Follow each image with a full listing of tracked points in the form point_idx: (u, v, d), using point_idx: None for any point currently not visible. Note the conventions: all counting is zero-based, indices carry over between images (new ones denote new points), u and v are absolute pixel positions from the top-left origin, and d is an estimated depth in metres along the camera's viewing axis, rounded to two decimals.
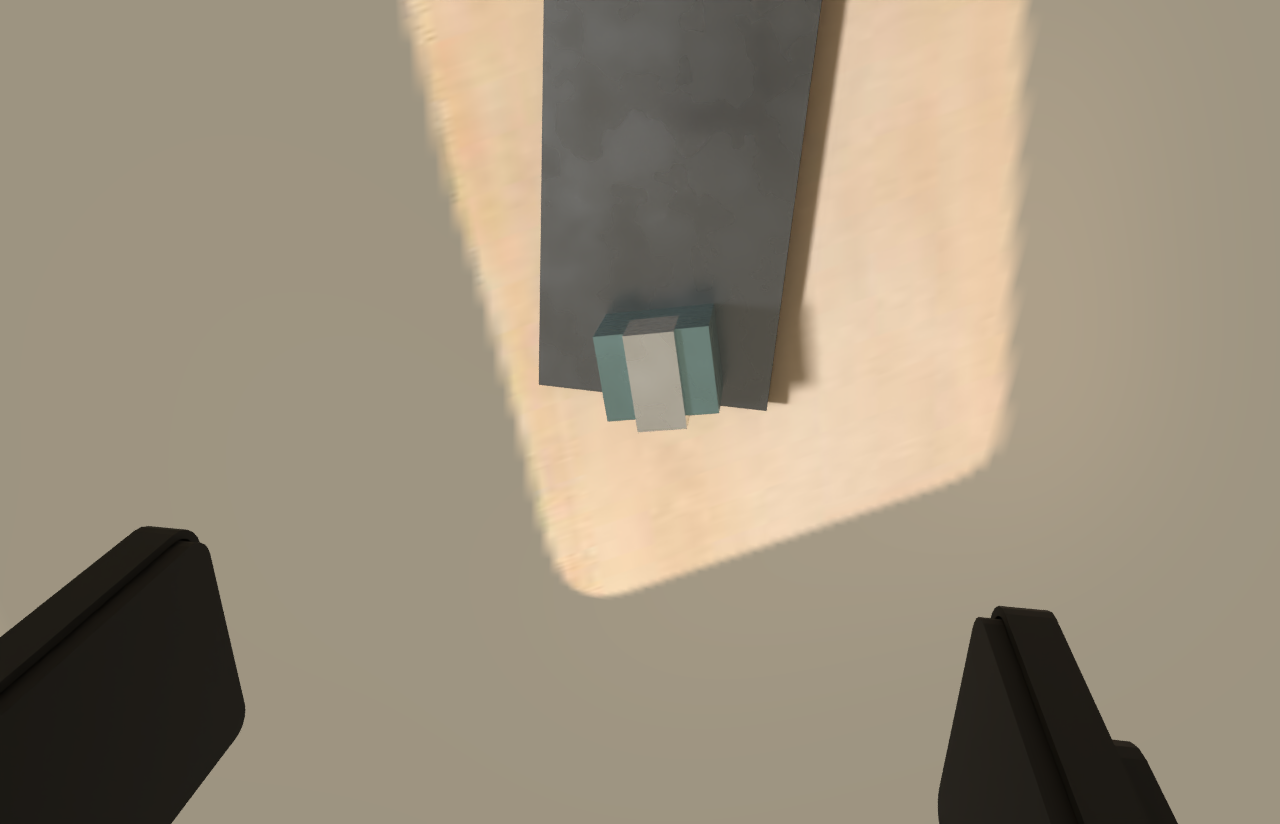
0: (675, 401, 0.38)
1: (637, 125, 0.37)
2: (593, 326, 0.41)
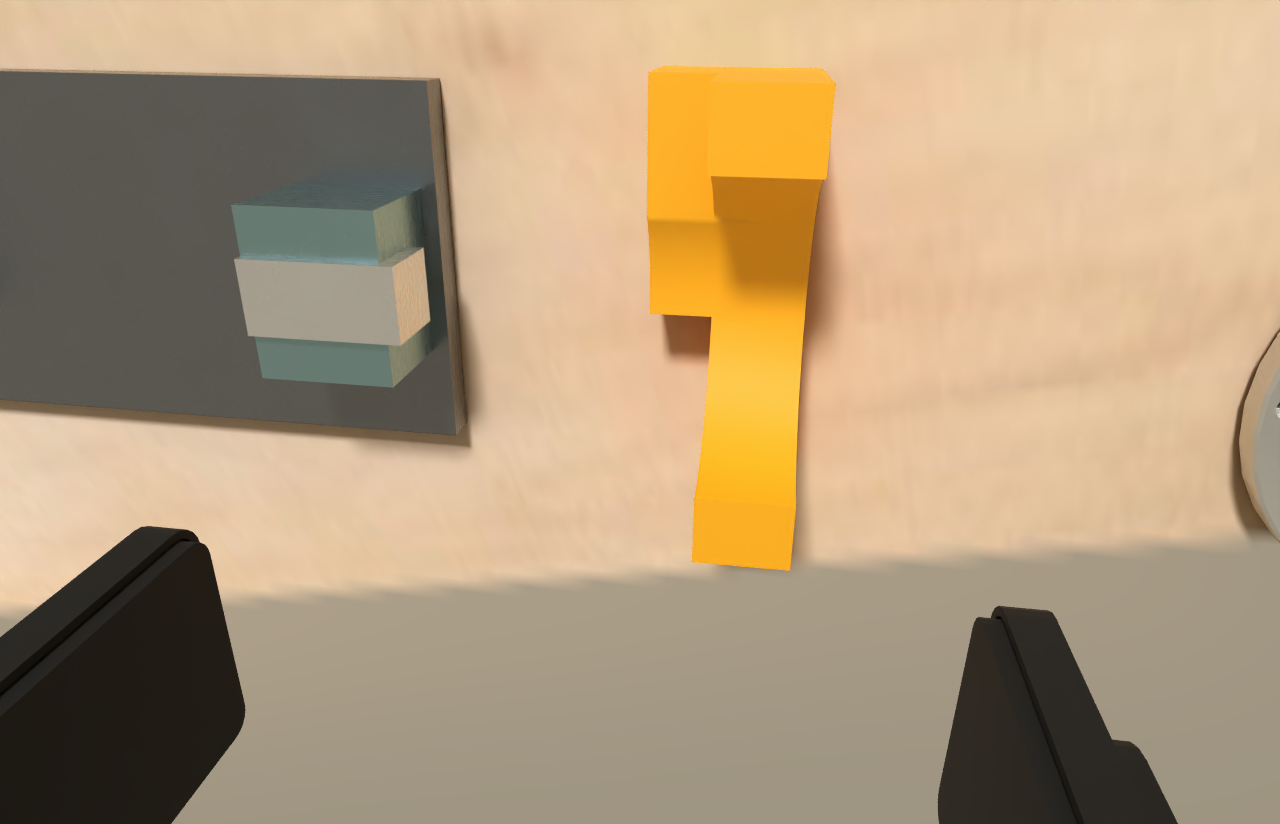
0: None
1: (86, 210, 0.28)
2: None
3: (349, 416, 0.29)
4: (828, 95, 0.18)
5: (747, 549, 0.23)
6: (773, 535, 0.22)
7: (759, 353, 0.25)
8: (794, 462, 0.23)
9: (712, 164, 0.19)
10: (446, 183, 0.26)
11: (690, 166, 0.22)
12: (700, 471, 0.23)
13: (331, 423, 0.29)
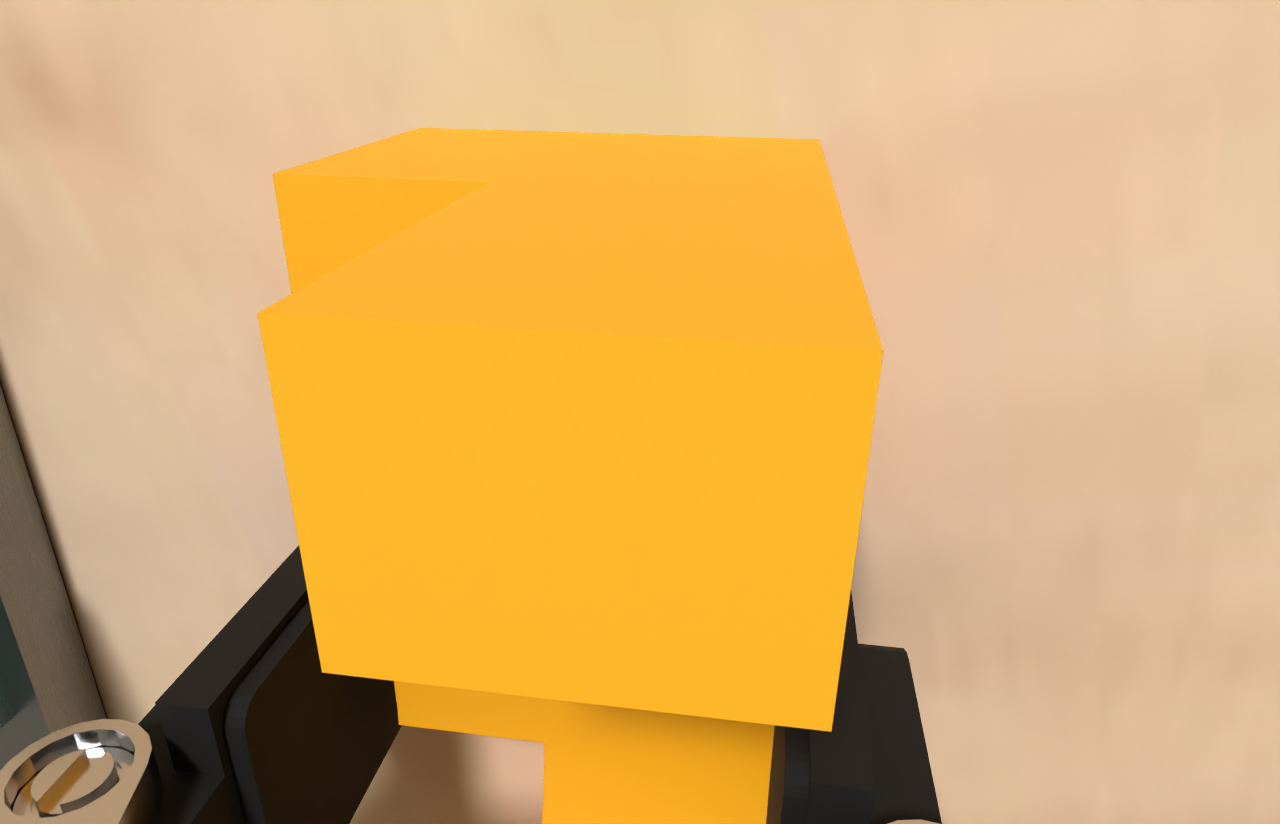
0: None
1: None
2: None
3: None
4: (845, 406, 0.03)
5: None
6: None
7: None
8: None
9: (334, 640, 0.04)
10: None
11: None
12: None
13: None
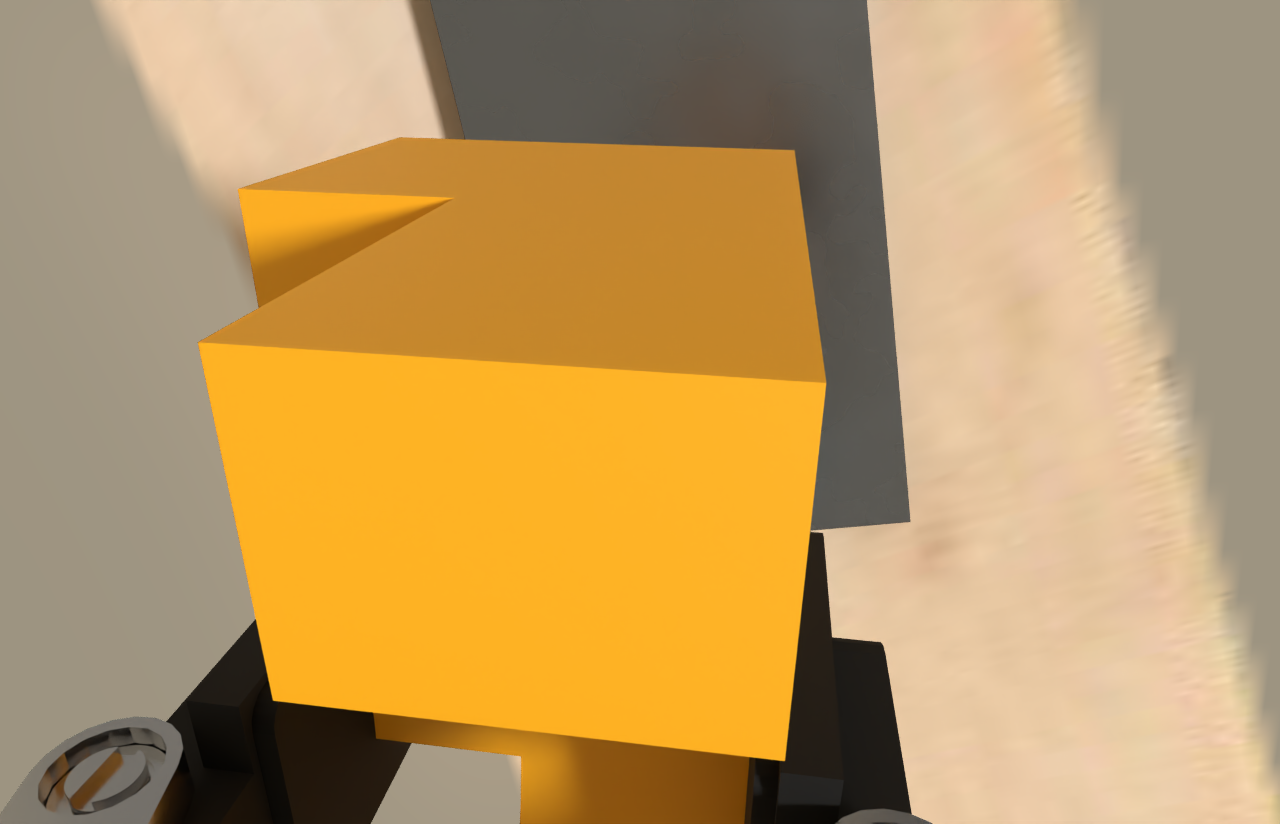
0: None
1: None
2: None
3: None
4: (788, 439, 0.03)
5: None
6: None
7: None
8: None
9: (283, 669, 0.04)
10: None
11: None
12: None
13: None
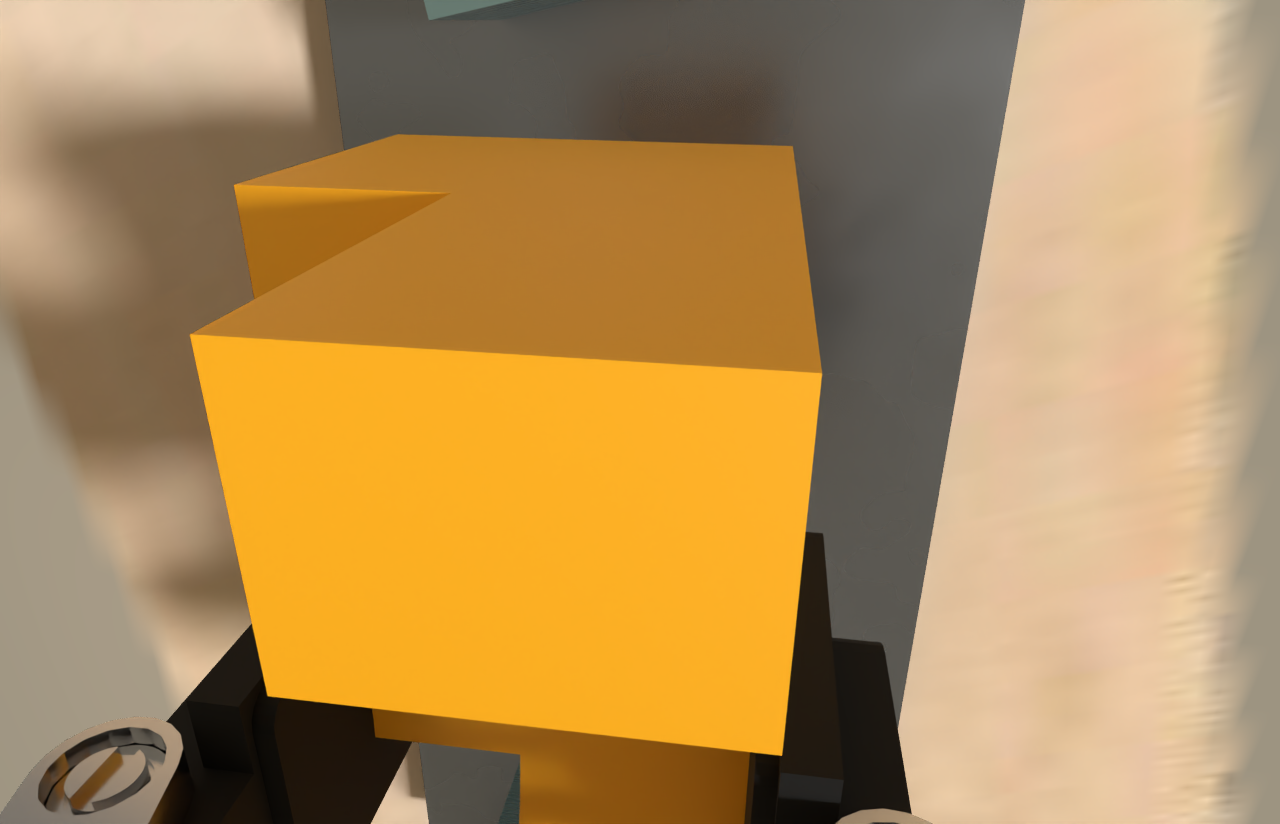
0: None
1: None
2: None
3: None
4: (785, 429, 0.03)
5: None
6: None
7: None
8: None
9: (279, 663, 0.04)
10: None
11: None
12: None
13: None
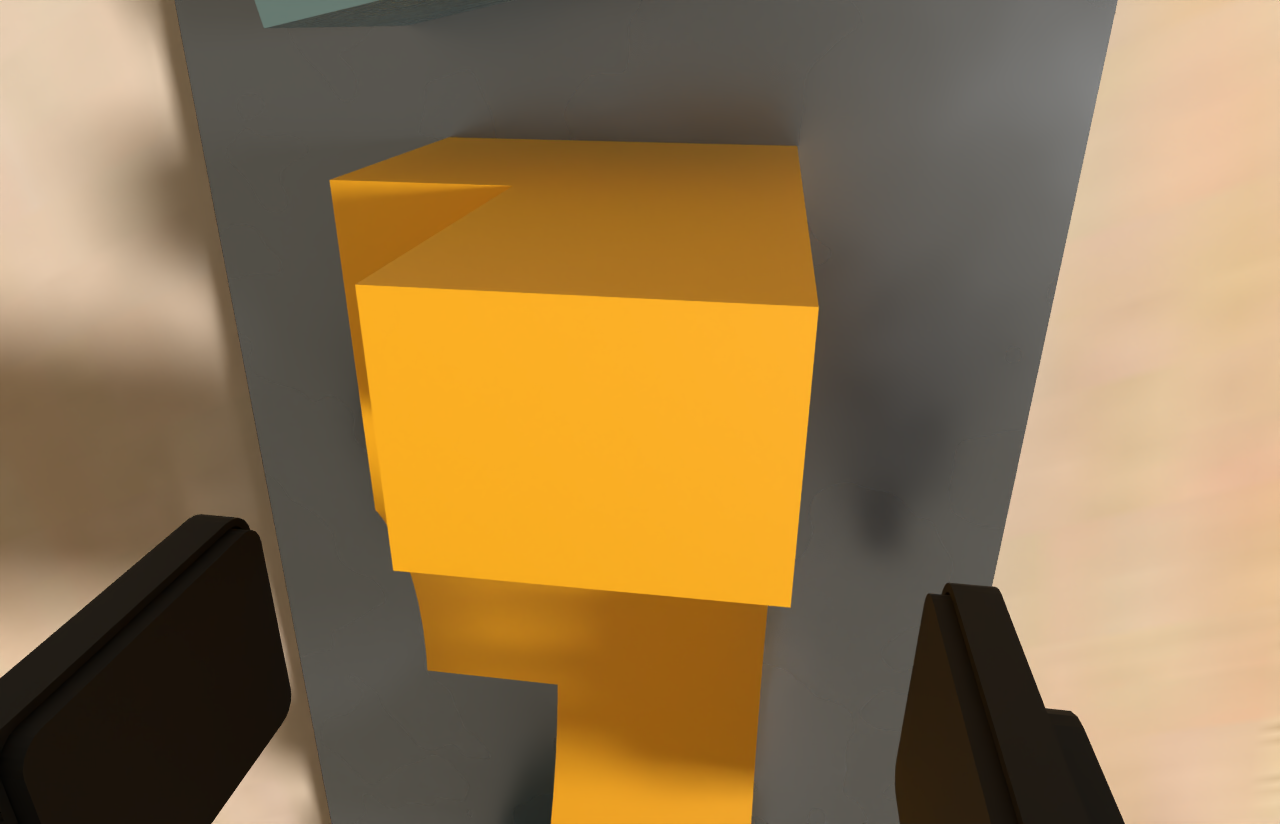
0: None
1: None
2: None
3: None
4: (792, 349, 0.05)
5: None
6: None
7: (662, 763, 0.11)
8: None
9: (405, 542, 0.06)
10: None
11: None
12: None
13: None
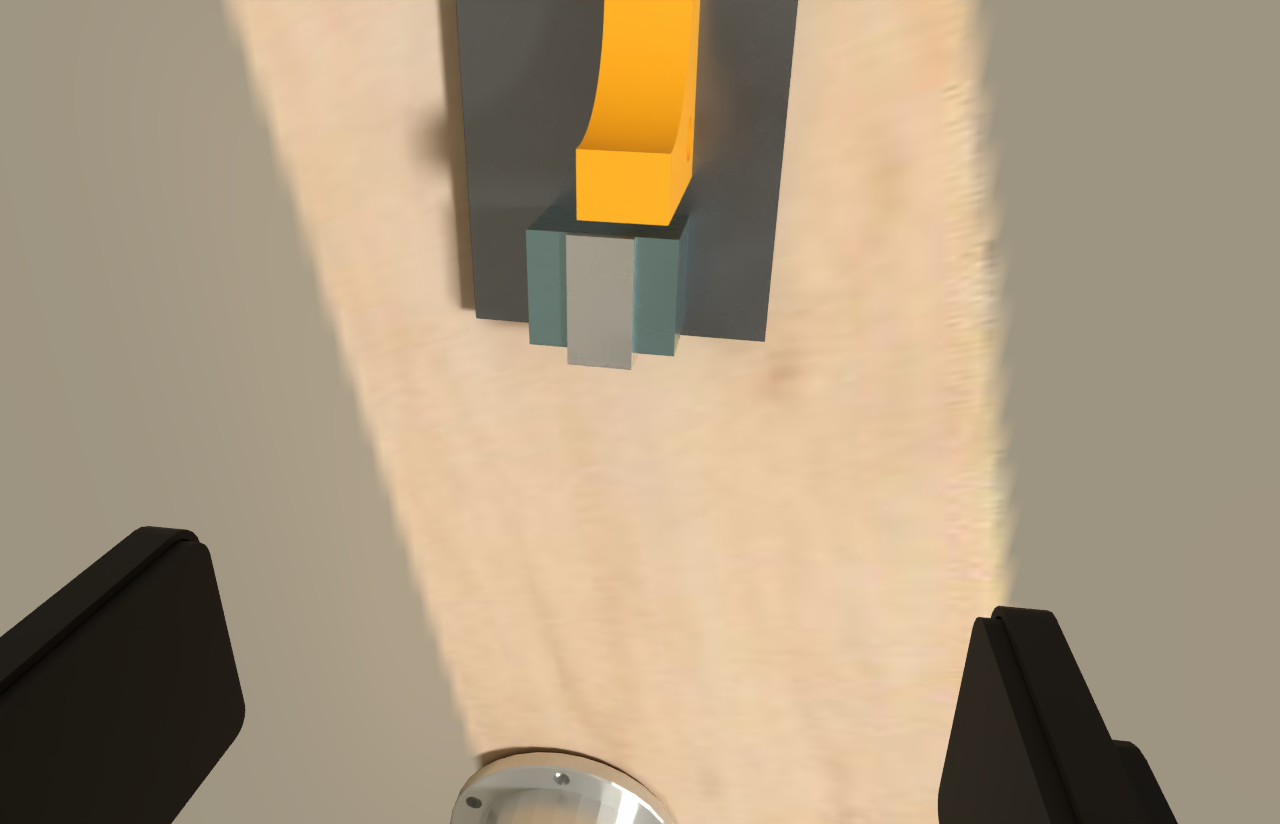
0: None
1: None
2: None
3: (480, 223, 0.32)
4: None
5: (627, 203, 0.24)
6: (651, 186, 0.24)
7: (650, 33, 0.25)
8: (677, 128, 0.25)
9: None
10: None
11: None
12: (586, 135, 0.24)
13: (470, 203, 0.31)
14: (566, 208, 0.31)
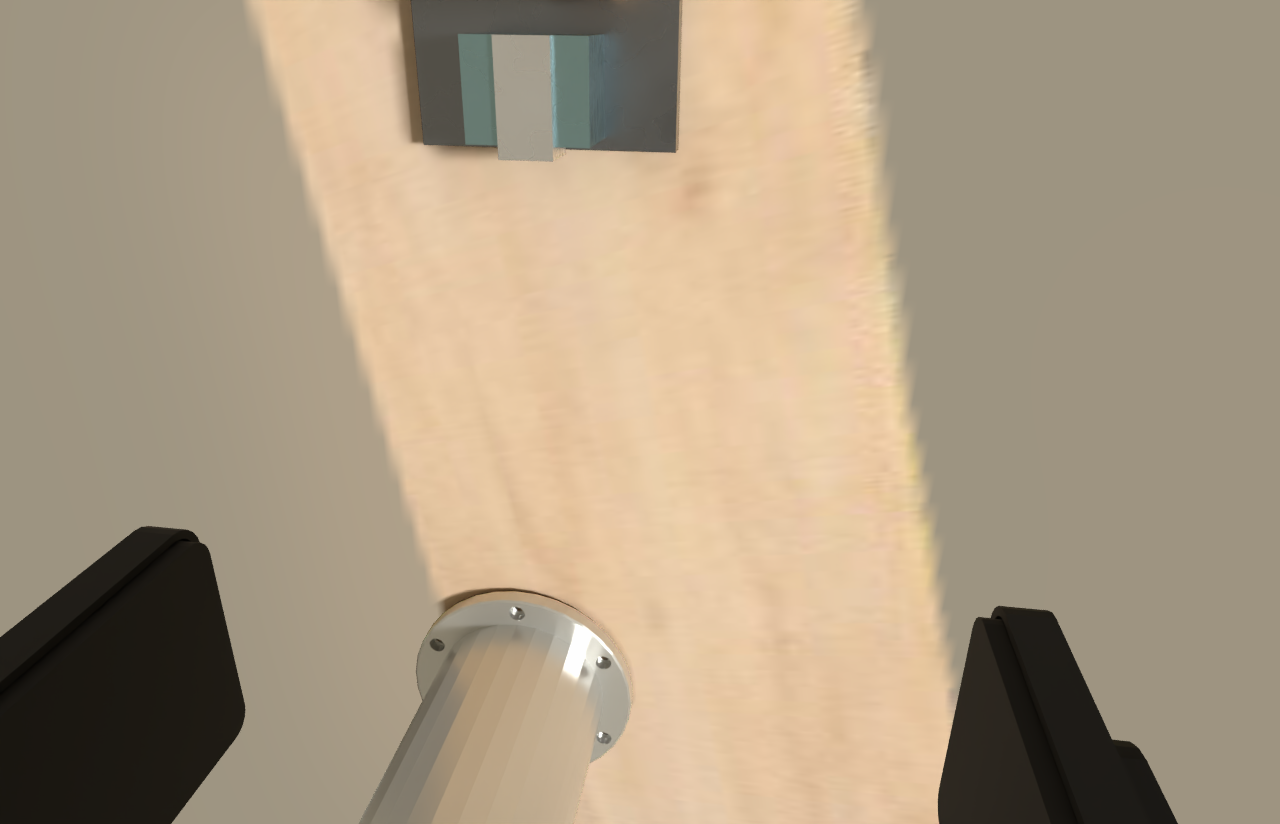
0: None
1: None
2: None
3: (424, 53, 0.36)
4: None
5: None
6: None
7: None
8: None
9: None
10: None
11: None
12: None
13: (415, 34, 0.36)
14: (497, 32, 0.35)
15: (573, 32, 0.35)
